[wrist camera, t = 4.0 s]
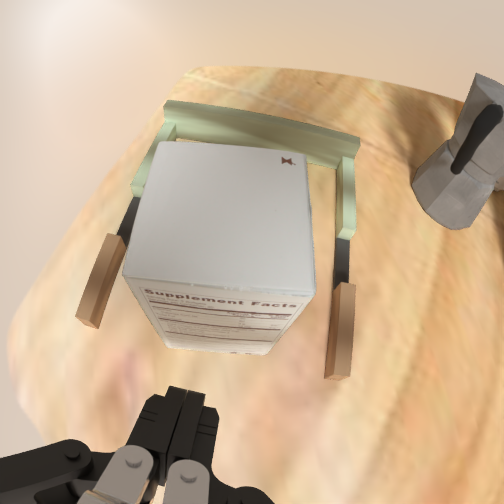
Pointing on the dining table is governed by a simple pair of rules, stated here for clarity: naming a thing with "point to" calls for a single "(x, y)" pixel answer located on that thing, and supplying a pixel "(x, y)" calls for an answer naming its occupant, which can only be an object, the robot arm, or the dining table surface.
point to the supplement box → (223, 246)
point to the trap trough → (261, 136)
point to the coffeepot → (466, 160)
